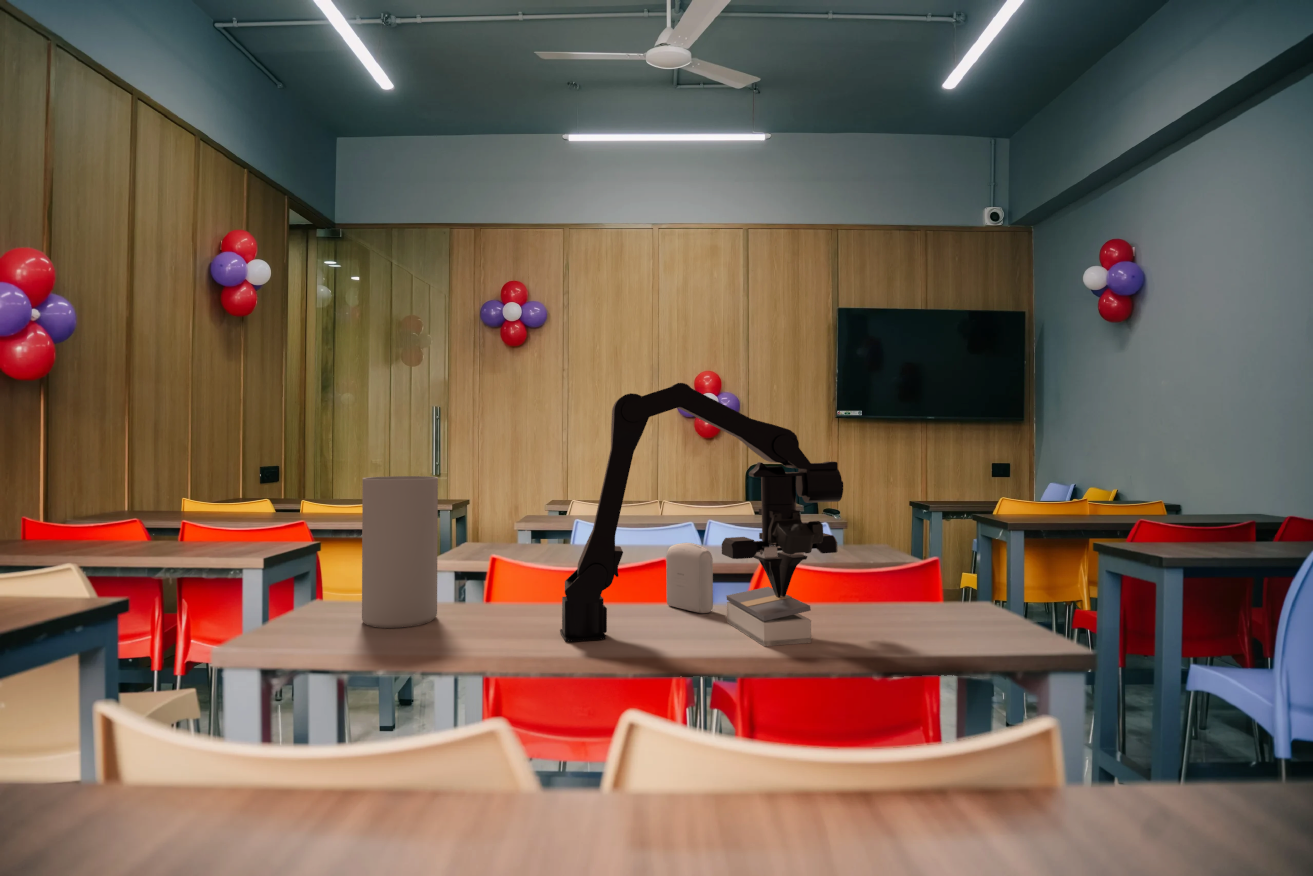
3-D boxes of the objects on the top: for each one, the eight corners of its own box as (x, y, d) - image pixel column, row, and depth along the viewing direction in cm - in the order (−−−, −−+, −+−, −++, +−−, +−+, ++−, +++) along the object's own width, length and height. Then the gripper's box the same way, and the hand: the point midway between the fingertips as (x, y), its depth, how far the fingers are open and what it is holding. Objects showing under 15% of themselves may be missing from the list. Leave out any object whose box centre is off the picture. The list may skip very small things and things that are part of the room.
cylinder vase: (390, 610, 141) (391, 475, 141) (450, 614, 138) (451, 476, 138) (346, 626, 129) (346, 478, 129) (410, 631, 126) (411, 480, 126)
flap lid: (764, 621, 117) (763, 615, 117) (726, 600, 133) (726, 594, 133) (810, 610, 119) (810, 605, 119) (768, 591, 135) (768, 586, 135)
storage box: (764, 646, 117) (764, 623, 117) (726, 622, 133) (726, 601, 133) (811, 642, 119) (811, 619, 119) (769, 619, 135) (769, 599, 135)
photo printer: (663, 605, 146) (663, 541, 146) (679, 602, 149) (680, 539, 149) (699, 615, 138) (699, 547, 138) (716, 612, 141) (716, 545, 141)
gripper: (745, 510, 116) (746, 612, 116) (853, 505, 121) (855, 602, 121) (719, 504, 127) (721, 597, 127) (820, 499, 132) (822, 589, 132)
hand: (780, 597), depth 127 cm, fingers closed, pressing on flap lid
